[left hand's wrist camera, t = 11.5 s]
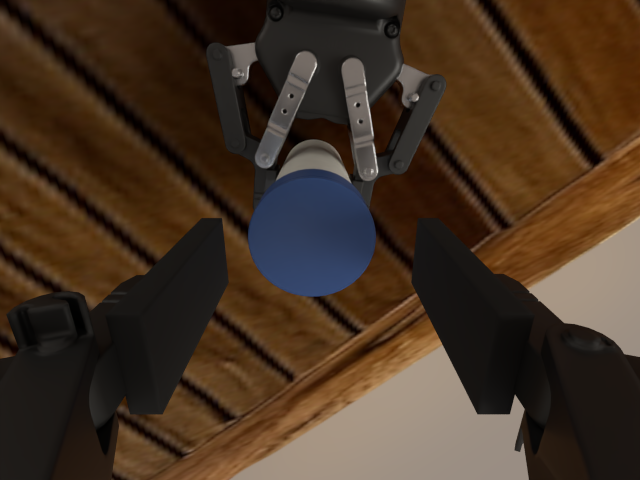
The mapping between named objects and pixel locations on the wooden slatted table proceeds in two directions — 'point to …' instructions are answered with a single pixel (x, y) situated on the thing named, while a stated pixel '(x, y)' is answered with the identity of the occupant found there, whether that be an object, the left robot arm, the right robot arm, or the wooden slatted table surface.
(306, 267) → the lid
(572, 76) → the wooden slatted table surface
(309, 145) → the white bottle
